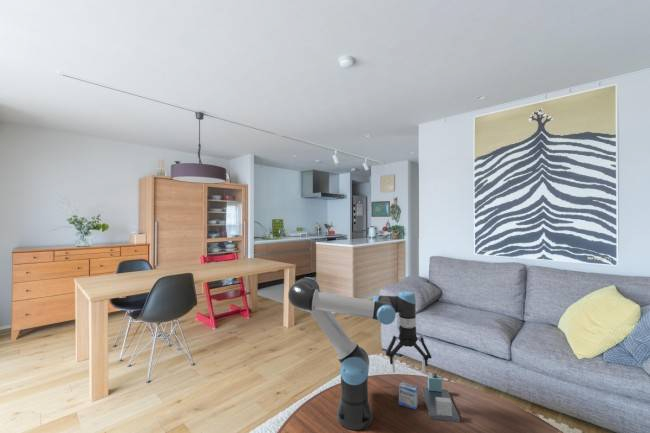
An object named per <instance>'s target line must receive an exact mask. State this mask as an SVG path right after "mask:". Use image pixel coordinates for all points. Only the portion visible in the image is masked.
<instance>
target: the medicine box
mask: <svg viewBox="0 0 650 433" xmlns="http://www.w3.org/2000/svg"><path fill="white" fill-rule="evenodd" d="M418 392H419V387H418V385H414V384H410V383H406V382H402V381H401V382H400V384H399V385H398V405H399V406H402V407H405V408H409V409H413V410H417V407H418V404H419V401H418V399H419V396H418V394H419V393H418Z"/></svg>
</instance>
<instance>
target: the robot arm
mask: <svg viewBox="0 0 650 433" xmlns="http://www.w3.org/2000/svg"><path fill="white" fill-rule="evenodd" d="M287 295H288V296H287V297H288V300H289V303H290V304H291V305H292V306H294V307H295V308H297V309H301V310H304V311H305V312H309V313H310V315H311V316H312V318H313V319H314V320H315V322H316V324H317V325H318V326H319V328H320V329H321V331H322V333H323V334H324V335H325V336H326V338H327V339H328V341H329V342H330V344H331V345H332V347H333V348H334V350H335V352H337V360H338V361H339V363H340V364H341V365H340V369H339V371H340V372H339V373H340V401H339V403H338V407H337V410H336V419H337V422H338V421H339V422H338V423H339V424H340V426H342V427H343V426H344V427H343V428H345V429H348V430H351V431H360V430H361V431H362V430H365V429H367V428H368V427H370V425H371V424H372V422H373V412H372V408H371V406H370V402H369V384H368V383H369V369H370V358H369V354H368V352H367V351H366V350H365V349H364V348H363V347H361V346H359V344H358V342H355V341H352V340H351V338H350V337H349V336H348V334H347V333H346V331H345V329H344V328H343V326H342V325H341V324H340V323H339V321H338V320H337V318H336V317H335V315H334V314H333V313H336V314H341V315H348V316H353V317H359V318H363V319H364V318H365V319H370V320H375V321H376V320H377V321H379V323H381V324H383V325H387V326H388V325H391V324H393V323H394V322H395V319H396V313H397V314H398V324H399V327H398V328H399V332H398V333H399V334H398V335H396V334H392V337H391V338H392V339H391V341H390V343H389V345H388V347H387V349H386V351H385V356H386V357H389V364H390V365H392V373H395V372H396V371H395V370H396V369H395V368H396V367H395V355H396V354H397V353H398V352H399V351H400V349H401V348H403V347H410V348H412V347H414V349H415V350H417V352H418V353H419V354H420V355H421V358H422V359H421V360H422V363H421V364H422V365H421V366H422V374H423V375H426V367H428V360H430V359H432V355H431V353H430V351H429V348H428V346H427V345H426V343H425V340H424V337H423V335H420V336H417V318H416V317H417V315H416V314H417V312H416V310H417V308H416V306H417V304H416V303H417V302H416V294H415V293H414V292H412V291H409V290H405V291H398V295H373V298H372V300H370V299H365V298H357V297H352V296H348V295H339V294H333V293H329V292H324V291H321V290H320V285H319V283H318V281H317V280H315V279H314V278H313V277H307V276H305V277H302V278H300V279H298V280H297V281H296V282H295V283H294V284H292V285H291V286H290V288H289V289H288V294H287ZM398 340H399V342H398V343H397V344H396V341H398ZM417 341H419V343H421V345H422V347H423V349H424V351H425V352H426V353H425V352H424V351H423V350H422V349H421V347H420V346H419V344H417ZM395 344H396V346H395V347H394V345H395ZM393 347H394V348H393Z"/></svg>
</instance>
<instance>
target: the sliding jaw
mask: <svg viewBox="0 0 650 433" xmlns="http://www.w3.org/2000/svg"><path fill="white" fill-rule="evenodd" d="M427 388H428V389H429V391H439V392H442V389H443V379H442V376H441V375H438V374H437V372H436V373H435V372H432V374H431V375H429V374H427Z"/></svg>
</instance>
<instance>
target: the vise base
mask: <svg viewBox="0 0 650 433" xmlns="http://www.w3.org/2000/svg"><path fill="white" fill-rule="evenodd" d="M421 392H422V395H423V400H424V403H425V406H426V409H427V412H428V415H429V416H428V417H429V420H438V421H448V422H458V423H460V422H461V419H460V416H459V414H458V411H457V409H456V407H455V405H454V402H453V400H452V397H451V395H450V393H449V391H448V389H443V388H442V392H439V391H429V389H428V387H421Z"/></svg>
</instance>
